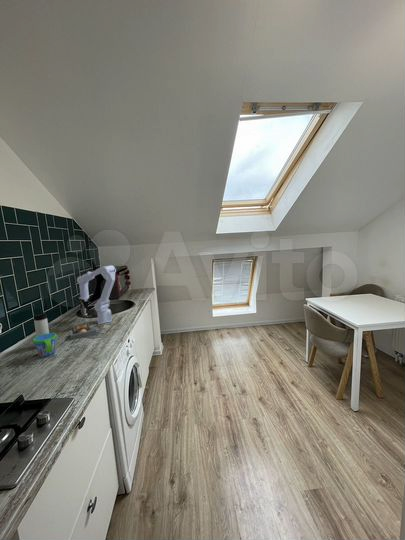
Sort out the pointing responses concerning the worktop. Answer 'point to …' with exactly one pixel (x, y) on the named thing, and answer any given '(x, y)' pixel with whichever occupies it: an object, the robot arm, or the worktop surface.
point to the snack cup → (45, 344)
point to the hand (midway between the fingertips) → (86, 308)
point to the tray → (83, 334)
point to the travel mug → (41, 324)
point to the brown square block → (82, 328)
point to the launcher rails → (75, 329)
